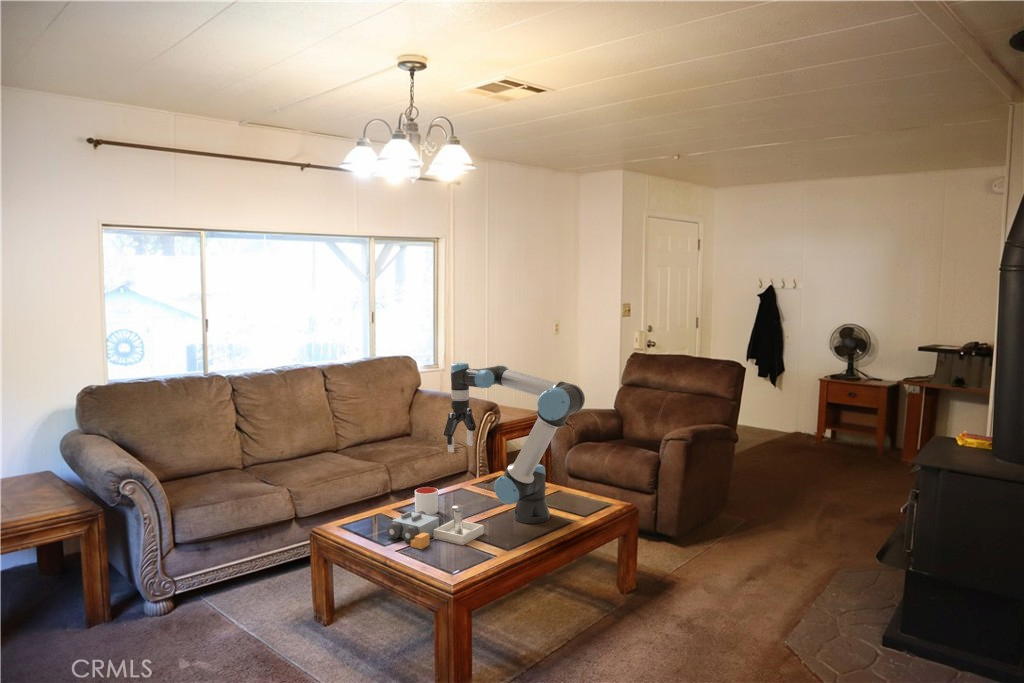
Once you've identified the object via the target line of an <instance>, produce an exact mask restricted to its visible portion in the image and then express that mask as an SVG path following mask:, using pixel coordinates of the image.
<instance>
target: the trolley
mask: <svg viewBox="0 0 1024 683" xmlns="http://www.w3.org/2000/svg"><path fill="white" fill-rule="evenodd" d="M444 522H445V521H444V519H443V517H442V515H440V514H437V513H436V514H434V515H431V516H429V515H427V514H426V513H425V512H424V511H419V512H414V511H407V512H405V513H403V514H401V516H398V517H396V518H394V519H392V520H391V523H390V524H388V525H387V526H386V534H387V536H388V538H389V539H391V540H396V539H398V538H402V539H403V540H404V542H405V543H407V544H411V540H413V539H415V536H417V535H419V534H421V533H423V532H424V533H428V534H429V538H431V537H434V529H436V528H438V527H440V526H442V525H444V524H445V523H444Z"/></svg>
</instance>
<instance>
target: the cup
mask: <svg viewBox="0 0 1024 683" xmlns="http://www.w3.org/2000/svg"><path fill="white" fill-rule="evenodd" d="M414 511H415V513H416V512H419V511H424V512H425V513H426V514H427V515H429V516H433V515H435V514H437V513H438V512H439V489H438V488H435V487H431V486H426V487H419V488H417V489H415V490H414Z"/></svg>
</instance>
